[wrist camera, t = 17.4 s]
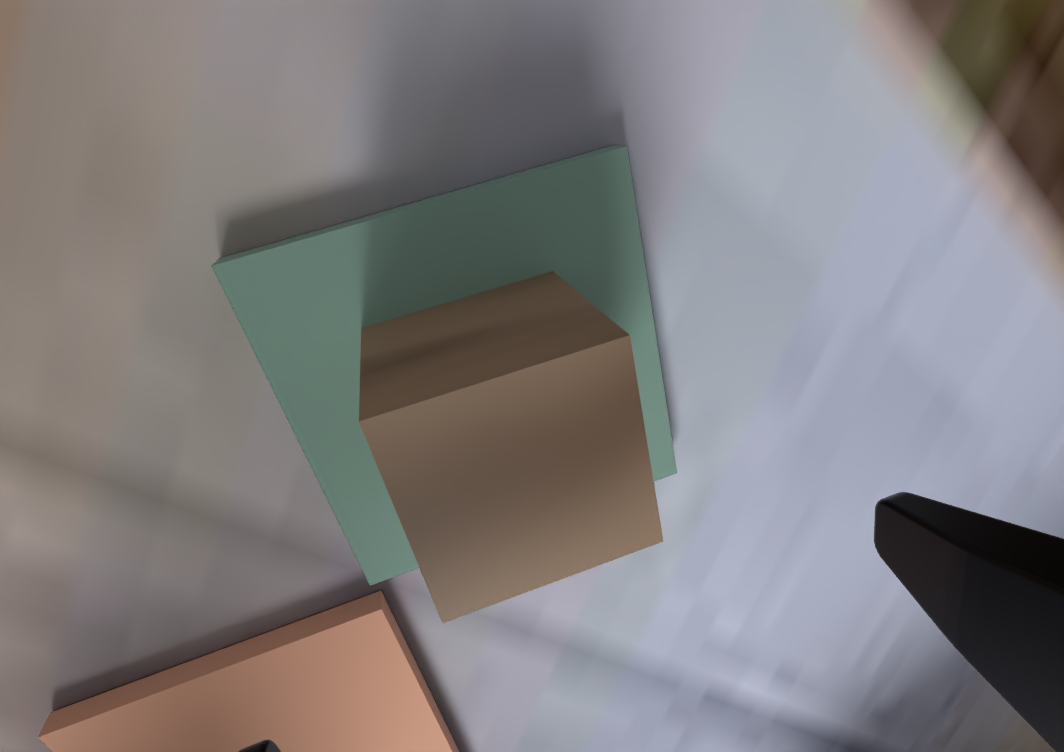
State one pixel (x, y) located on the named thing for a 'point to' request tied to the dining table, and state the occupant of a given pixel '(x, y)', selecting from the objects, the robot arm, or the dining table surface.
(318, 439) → the mat green
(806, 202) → the dining table surface
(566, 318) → the brown cube
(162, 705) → the mat terracotta
